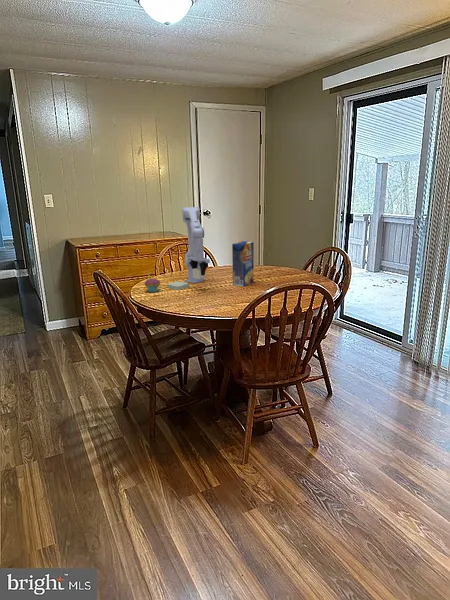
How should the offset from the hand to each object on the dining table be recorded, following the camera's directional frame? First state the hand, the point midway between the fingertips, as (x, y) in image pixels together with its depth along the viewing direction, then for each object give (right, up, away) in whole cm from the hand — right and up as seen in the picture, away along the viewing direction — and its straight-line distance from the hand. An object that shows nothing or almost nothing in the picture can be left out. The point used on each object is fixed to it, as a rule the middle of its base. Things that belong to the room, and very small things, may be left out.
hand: (199, 274), depth 226 cm
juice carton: (+25, -5, +14) cm, 29 cm away
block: (0, -2, 0) cm, 2 cm away
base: (-13, -7, +9) cm, 17 cm away
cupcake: (-26, -9, +2) cm, 28 cm away
